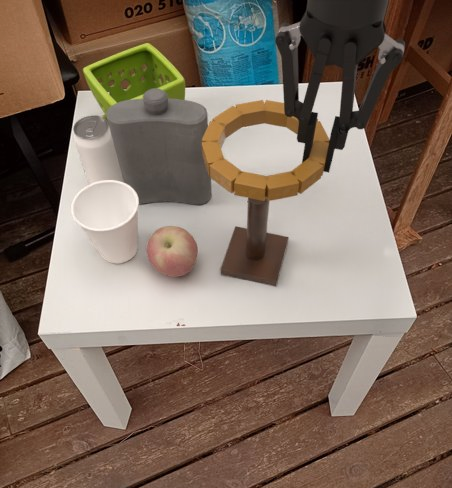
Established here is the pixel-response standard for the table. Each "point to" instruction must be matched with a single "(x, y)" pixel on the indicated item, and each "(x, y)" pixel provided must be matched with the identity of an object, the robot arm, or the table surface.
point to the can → (96, 149)
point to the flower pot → (133, 76)
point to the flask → (161, 147)
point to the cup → (109, 218)
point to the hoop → (256, 183)
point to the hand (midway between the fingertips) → (317, 162)
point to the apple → (172, 251)
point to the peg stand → (255, 248)
